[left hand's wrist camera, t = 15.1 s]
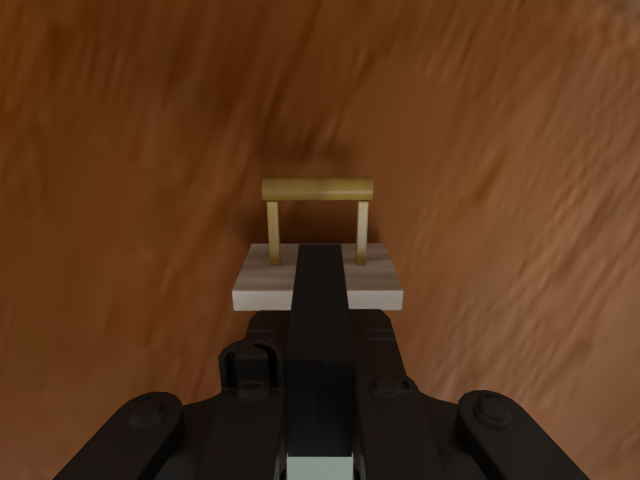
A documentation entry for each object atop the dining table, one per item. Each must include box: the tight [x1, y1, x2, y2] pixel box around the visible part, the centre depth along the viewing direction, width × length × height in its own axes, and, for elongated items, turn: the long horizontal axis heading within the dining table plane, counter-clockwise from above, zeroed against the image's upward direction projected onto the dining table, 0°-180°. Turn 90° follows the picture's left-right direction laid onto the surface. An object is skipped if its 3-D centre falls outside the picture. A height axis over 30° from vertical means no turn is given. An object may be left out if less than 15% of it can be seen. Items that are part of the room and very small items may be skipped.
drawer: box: [232, 177, 404, 311], centre depth 27 cm, size 25×9×7 cm, turn 0°
